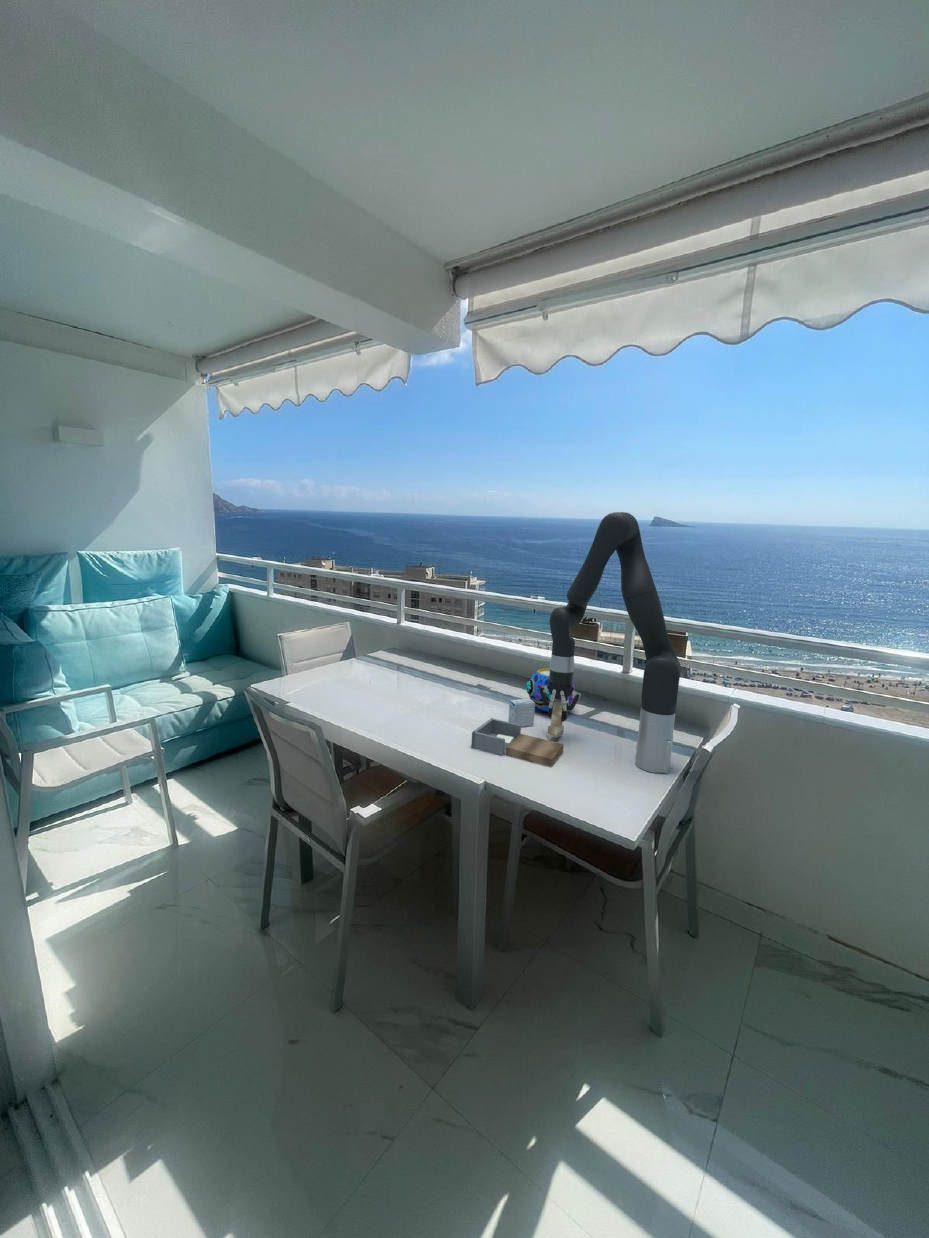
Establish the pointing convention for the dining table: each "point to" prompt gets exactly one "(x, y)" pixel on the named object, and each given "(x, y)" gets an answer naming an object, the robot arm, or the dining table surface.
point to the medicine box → (521, 712)
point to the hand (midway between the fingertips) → (557, 719)
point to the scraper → (556, 720)
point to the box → (494, 736)
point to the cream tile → (506, 739)
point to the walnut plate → (535, 750)
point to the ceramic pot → (538, 681)
